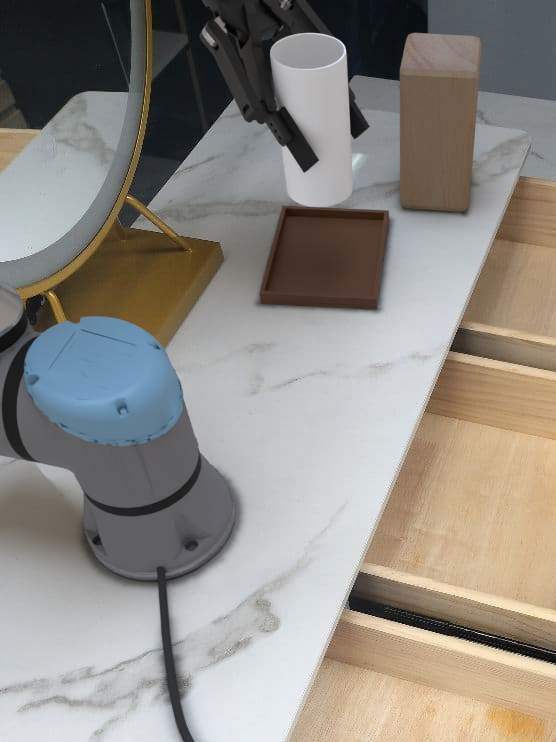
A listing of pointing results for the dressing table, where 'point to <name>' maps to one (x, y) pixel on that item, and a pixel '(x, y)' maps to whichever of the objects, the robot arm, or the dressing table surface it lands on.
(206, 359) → the dressing table surface
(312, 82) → the cup
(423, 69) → the wooden block
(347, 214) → the tray
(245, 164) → the dressing table surface
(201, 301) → the dressing table surface
